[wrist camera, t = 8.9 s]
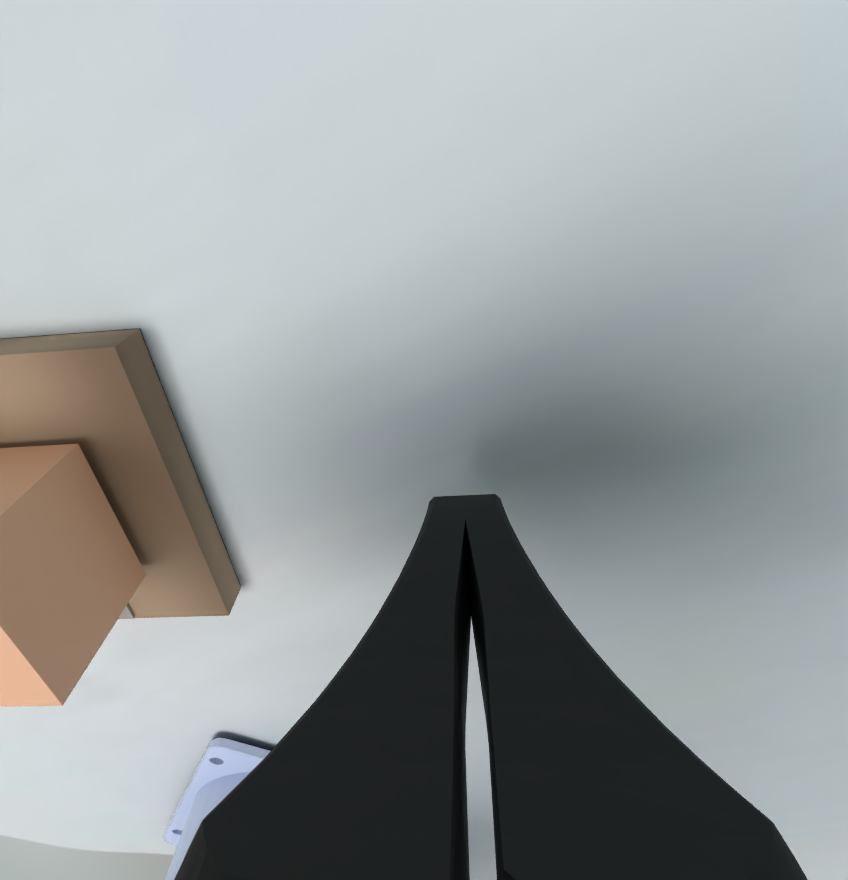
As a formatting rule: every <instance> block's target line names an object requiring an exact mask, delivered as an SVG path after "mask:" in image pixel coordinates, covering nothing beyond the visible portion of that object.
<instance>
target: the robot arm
mask: <svg viewBox="0 0 848 880" xmlns="http://www.w3.org/2000/svg"><path fill="white" fill-rule="evenodd" d="M471 618H472V625H473V632H474V639H475V646H476V653H477V660H478V667H479V674H480V681H481V688H482V695H483V701H484V708H485V715H486V723H487V732H488V742H489V754H490V771H491V787H492V804H493V820H494V837H495V854H496V870H497V880H807V878H806V876H805V874H804V873H803V871H802V869H801V867H800V866H799V864H798V862H797V860H796V859H795V857H794V855H793V854H792V852H791V851H790V849H789V847H788V846H787V844H786V842H785V841H784V839H783V838H782V836H781V834H780V833H779V831H778V830H777V828H776V827H775V825H774V823H773V822H772V821H771V820H769V819H768V818H767V817H766V816H765V815H764V814H762V813H761V812H760V811H759V810H758V809H757V808H755V807H754V806H753V805H752V804H751V803H749V802H748V801H747V800H746V799H745V798H744V797H742V796H741V795H740V794H739V793H738V792H737V791H735V790H734V789H733V788H732V787H731V786H730V785H729V784H727V783H726V782H725V781H724V780H723V779H722V778H721V777H720V776H718V775H717V774H716V773H715V772H714V771H713V770H712V769H711V768H709V767H708V766H707V765H706V764H705V763H704V762H703V761H702V760H701V759H699V758H698V757H697V756H696V755H695V754H694V753H693V752H692V751H691V750H690V749H689V748H688V747H687V746H686V745H685V744H684V743H682V742H681V741H680V740H679V739H678V738H677V737H676V736H675V735H674V734H673V733H672V732H671V731H670V730H669V729H668V728H667V727H666V726H665V725H664V724H663V723H662V722H661V721H660V720H659V719H658V718H657V717H656V716H655V715H654V714H653V713H652V712H651V711H650V710H649V709H648V708H647V707H646V706H645V705H644V704H643V703H642V702H641V701H640V700H639V699H638V698H637V697H636V696H635V694H634V693H633V692H632V691H631V690H630V689H629V688H628V687H627V686H626V685H625V684H624V683H623V682H622V681H621V680H620V679H619V678H618V677H617V676H616V675H615V673H614V672H613V671H612V670H611V669H610V668H609V667H608V665H607V664H606V663H605V662H604V661H603V660H602V658H601V657H600V656H599V655H598V654H597V653H596V652H595V650H594V649H593V648H592V647H591V645H590V644H589V643H588V642H587V641H586V639H585V638H584V637H583V636H582V634H581V633H580V632H579V631H578V629H577V628H576V627H575V626H574V624H573V623H572V622H571V620H570V619H569V618H568V616H567V615H566V614H565V612H564V611H563V610H562V608H561V607H560V605H559V604H558V602H557V601H556V600H555V598H554V597H553V595H552V594H551V592H550V591H549V590H548V588H547V587H546V585H545V584H544V582H543V580H542V579H541V577H540V576H539V574H538V573H537V571H536V569H535V568H534V566H533V564H532V563H531V561H530V559H529V558H528V556H527V554H526V553H525V551H524V549H523V547H522V546H521V544H520V542H519V540H518V538H517V536H516V534H515V532H514V530H513V528H512V526H511V524H510V522H509V520H508V518H507V515H506V513H505V510H504V508H503V505H502V502H501V499H500V498H499V497H498V496H497V495H495V494H488V495H465V496H443V497H434V498H433V499H432V500H431V501H430V502H429V506H428V510H427V513H426V516H425V519H424V522H423V525H422V528H421V530H420V533H419V535H418V537H417V540H416V542H415V545H414V547H413V549H412V551H411V553H410V555H409V557H408V559H407V561H406V564H405V566H404V568H403V570H402V572H401V574H400V576H399V578H398V580H397V581H396V583H395V585H394V587H393V588H392V590H391V592H390V594H389V596H388V597H387V599H386V601H385V603H384V604H383V606H382V608H381V610H380V611H379V613H378V615H377V616H376V618H375V619H374V621H373V623H372V624H371V626H370V627H369V629H368V630H367V632H366V633H365V635H364V636H363V638H362V639H361V641H360V642H359V644H358V645H357V647H356V648H355V650H354V651H353V652H352V654H351V655H350V657H349V658H348V659H347V661H346V662H345V663H344V665H343V666H342V667H341V668H340V670H339V671H338V672H337V674H336V675H335V676H334V678H333V679H332V680H331V682H330V683H329V684H328V686H327V687H326V688H325V689H324V691H323V692H322V693H321V694H320V696H319V697H318V698H317V699H316V701H315V702H314V703H313V704H312V705H311V706H310V708H309V709H308V710H307V711H306V712H305V713H304V714H303V716H302V717H301V718H300V719H299V720H298V721H297V722H296V723H295V725H294V726H293V727H292V728H291V729H290V730H289V731H288V733H287V734H286V735H285V736H284V737H283V738H282V739H281V740H280V742H279V743H278V744H277V745H276V746H275V747H274V748H273V749H272V750H271V751H269V750H266V749H262V748H258V747H255V746H251V745H248V744H244V743H240V742H237V741H233V740H230V739H226V738H216V739H213V740H212V741H211V742H210V743H209V745H208V747H207V749H206V751H205V753H204V755H203V757H202V759H201V761H200V763H199V765H198V767H197V769H196V771H195V773H194V775H193V777H192V779H191V781H190V783H189V785H188V787H187V789H186V791H185V792H184V794H183V796H182V798H181V800H180V802H179V804H178V806H177V808H176V810H175V812H174V814H173V816H172V818H171V820H170V822H169V824H168V826H167V828H166V830H165V833H164V835H163V840H164V841H165V842H167V843H169V844H173V845H177V848H176V851H175V854H174V856H173V859H172V862H171V865H170V867H169V870H168V873H167V876H166V879H165V880H470V878H469V849H468V819H467V789H466V757H465V723H466V703H467V683H468V664H469V645H470V625H471Z"/></svg>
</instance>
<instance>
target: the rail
mask: <svg viewBox="0 0 848 880" xmlns="http://www.w3.org/2000/svg"><path fill="white" fill-rule="evenodd" d="M65 444H79V446H80V448H81V450H82V452H83V454H84V456H85V458H86V460H87V462H88V464H89V466H90V467H91V469H92V471H93V473H94V475H95V477H96V479H97V481H98V483H99V485H100V487H101V489H102V491H103V492H104V494H105V496H106V498H107V500H108V502H109V504H110V506H111V508H112V510H113V512H114V514H115V516H116V517H117V519H118V521H119V523H120V525H121V527H122V529H123V531H124V533H125V535H126V537H127V539H128V541H129V542H130V544H131V546H132V548H133V550H134V552H135V554H136V556H137V558H138V560H139V562H140V564H141V566H142V567H143V569H144V571H145V573H146V576H145V577H144V579H143V580H142V582H141V583H140V585H139V587H138V588H137V590H136V591H135V593H134V594H133V596H132V598H131V599H130V601H129V602H128V604H127V605H126V607H125V609H124V610H123V612H122V613H121V615H120V616H119V618H118V619H134V618H153V617H188V616H224V615H229V614H230V612H231V609H232V607H233V605H234V602H235V600H236V598H237V595H238V593H239V591H240V588H241V587H240V584H239V582H238V579H237V577H236V574H235V572H234V569H233V566H232V564H231V561H230V559H229V556H228V554H227V551H226V549H225V546H224V544H223V541H222V538H221V536H220V533H219V531H218V528H217V526H216V523H215V521H214V518H213V516H212V513H211V510H210V508H209V505H208V503H207V500H206V498H205V495H204V493H203V490H202V488H201V485H200V482H199V480H198V477H197V475H196V472H195V470H194V467H193V465H192V462H191V460H190V457H189V454H188V452H187V449H186V447H185V444H184V442H183V439H182V437H181V434H180V431H179V429H178V426H177V424H176V421H175V419H174V416H173V414H172V411H171V409H170V406H169V403H168V401H167V398H166V396H165V393H164V391H163V388H162V386H161V383H160V381H159V378H158V375H157V373H156V370H155V368H154V365H153V363H152V360H151V358H150V355H149V353H148V350H147V347H146V345H145V342H144V340H143V337H142V335H141V332H140V330H139V329H130V330H117V331H103V332H90V333H76V334H62V335H49V336H35V337H22V338H8V339H0V448H11V447H29V446H47V445H65Z"/></svg>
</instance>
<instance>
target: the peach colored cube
mask: <svg viewBox="0 0 848 880" xmlns="http://www.w3.org/2000/svg"><path fill="white" fill-rule="evenodd" d="M145 576H146V573H145V571H144V569H143V567H142V566H141V564H140V562H139V560H138V558H137V556H136V554H135V552H134V550H133V548H132V546H131V544H130V542H129V541H128V539H127V537H126V535H125V533H124V531H123V529H122V527H121V525H120V523H119V521H118V519H117V517H116V516H115V514H114V512H113V510H112V508H111V506H110V504H109V502H108V500H107V498H106V496H105V494H104V492H103V491H102V489H101V487H100V485H99V483H98V481H97V479H96V477H95V475H94V473H93V471H92V469H91V467H90V466H89V464H88V462H87V460H86V458H85V456H84V454H83V452H82V450H81V448H80V446H79V444H65V445H47V446H29V447H11V448H0V706H63V704H64V703H65V701H66V699H67V698H68V696H69V695H70V693H71V692H72V690H73V688H74V687H75V685H76V684H77V682H78V681H79V679H80V678H81V676H82V674H83V673H84V671H85V670H86V668H87V667H88V665H89V663H90V662H91V660H92V659H93V657H94V656H95V654H96V652H97V651H98V649H99V648H100V646H101V645H102V643H103V641H104V640H105V638H106V637H107V635H108V634H109V632H110V630H111V629H112V627H113V626H114V624H115V623H116V621H117V620H118V618H119V616H120V615H121V613H122V612H123V610H124V609H125V607H126V605H127V604H128V602H129V601H130V599H131V598H132V596H133V594H134V593H135V591H136V590H137V588H138V587H139V585H140V583H141V582H142V580H143V579H144V577H145Z"/></svg>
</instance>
